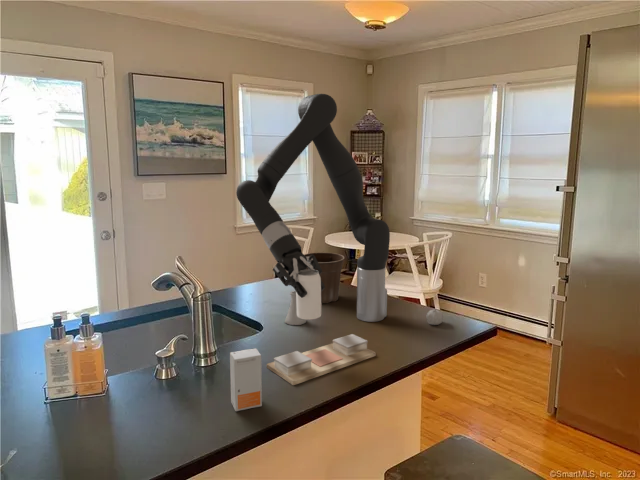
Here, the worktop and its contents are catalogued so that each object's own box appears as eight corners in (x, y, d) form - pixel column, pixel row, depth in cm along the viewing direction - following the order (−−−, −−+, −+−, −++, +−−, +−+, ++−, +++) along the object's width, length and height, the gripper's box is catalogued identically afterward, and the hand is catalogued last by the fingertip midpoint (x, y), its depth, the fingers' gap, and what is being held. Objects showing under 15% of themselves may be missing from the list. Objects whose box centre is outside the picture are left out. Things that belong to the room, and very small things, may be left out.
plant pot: (344, 305, 172) (345, 261, 169) (299, 305, 172) (299, 261, 169) (343, 292, 188) (343, 252, 185) (302, 292, 188) (301, 252, 185)
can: (318, 321, 122) (317, 276, 120) (293, 319, 123) (292, 274, 121) (323, 312, 128) (323, 269, 126) (300, 311, 130) (299, 268, 127)
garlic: (436, 328, 149) (436, 312, 149) (421, 323, 153) (422, 308, 153) (447, 324, 153) (447, 308, 152) (433, 319, 157) (433, 304, 156)
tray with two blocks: (346, 342, 139) (346, 330, 138) (375, 355, 130) (375, 343, 129) (266, 367, 123) (266, 354, 122) (293, 385, 113) (293, 371, 113)
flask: (280, 324, 154) (280, 294, 152) (290, 317, 160) (289, 288, 158) (301, 327, 151) (300, 296, 149) (310, 319, 158) (310, 290, 156)
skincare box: (235, 412, 102) (233, 359, 99) (230, 403, 105) (228, 352, 103) (263, 406, 104) (261, 354, 102) (257, 397, 108) (256, 347, 106)
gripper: (266, 237, 122) (300, 291, 116) (306, 229, 132) (339, 278, 126) (254, 254, 126) (286, 307, 120) (293, 246, 136) (325, 294, 131)
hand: (313, 292), depth 123 cm, fingers closed on can, 6 cm apart
